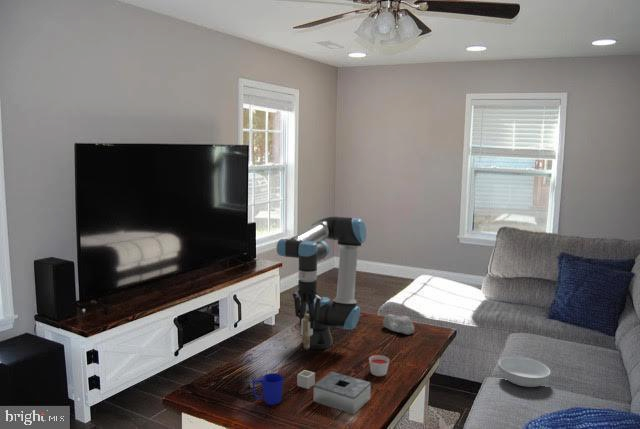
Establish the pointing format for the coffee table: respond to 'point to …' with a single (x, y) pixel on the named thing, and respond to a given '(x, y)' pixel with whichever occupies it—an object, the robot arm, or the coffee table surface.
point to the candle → (379, 365)
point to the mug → (270, 388)
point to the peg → (306, 332)
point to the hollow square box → (306, 379)
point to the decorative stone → (398, 324)
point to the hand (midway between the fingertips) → (307, 334)
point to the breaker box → (342, 392)
